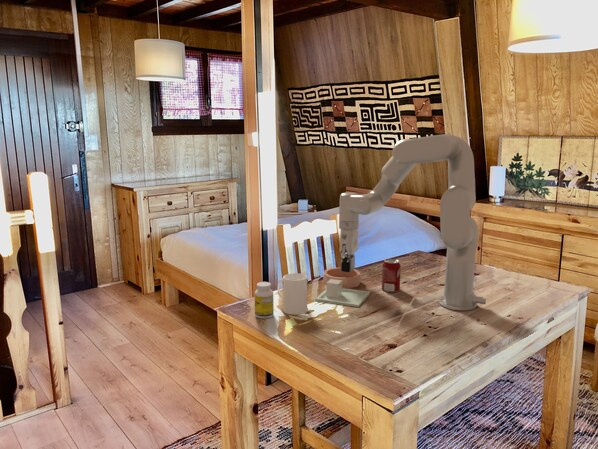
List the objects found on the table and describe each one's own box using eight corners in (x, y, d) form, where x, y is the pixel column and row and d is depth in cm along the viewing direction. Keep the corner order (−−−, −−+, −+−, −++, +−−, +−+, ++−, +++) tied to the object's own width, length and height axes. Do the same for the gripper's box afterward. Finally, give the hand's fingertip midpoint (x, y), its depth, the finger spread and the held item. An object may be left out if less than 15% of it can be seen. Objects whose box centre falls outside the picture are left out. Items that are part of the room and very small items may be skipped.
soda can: (394, 295, 184) (395, 264, 182) (378, 291, 188) (379, 261, 186) (402, 290, 190) (403, 260, 187) (386, 286, 194) (387, 257, 191)
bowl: (364, 280, 201) (364, 269, 200) (353, 291, 188) (353, 280, 187) (330, 276, 207) (330, 265, 206) (318, 286, 194) (318, 275, 193)
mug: (270, 308, 171) (270, 275, 169) (287, 301, 178) (287, 269, 175) (296, 317, 164) (296, 282, 161) (312, 309, 170) (313, 276, 168)
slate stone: (354, 269, 197) (355, 255, 196) (351, 272, 193) (351, 258, 192) (343, 267, 198) (344, 254, 197) (340, 270, 194) (340, 257, 193)
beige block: (341, 294, 183) (342, 280, 182) (338, 298, 179) (338, 284, 178) (330, 293, 185) (330, 279, 184) (326, 296, 181) (326, 282, 180)
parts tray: (370, 294, 185) (370, 291, 184) (358, 308, 171) (358, 305, 171) (329, 289, 191) (329, 286, 191) (315, 302, 177) (315, 298, 177)
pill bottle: (253, 313, 167) (252, 281, 165) (271, 311, 169) (270, 280, 166) (256, 320, 161) (256, 287, 159) (275, 318, 163) (275, 285, 161)
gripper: (351, 229, 183) (350, 277, 186) (364, 221, 198) (362, 265, 202) (332, 227, 186) (331, 274, 189) (346, 219, 201) (345, 263, 205)
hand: (347, 269), depth 195 cm, fingers closed on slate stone, 4 cm apart
